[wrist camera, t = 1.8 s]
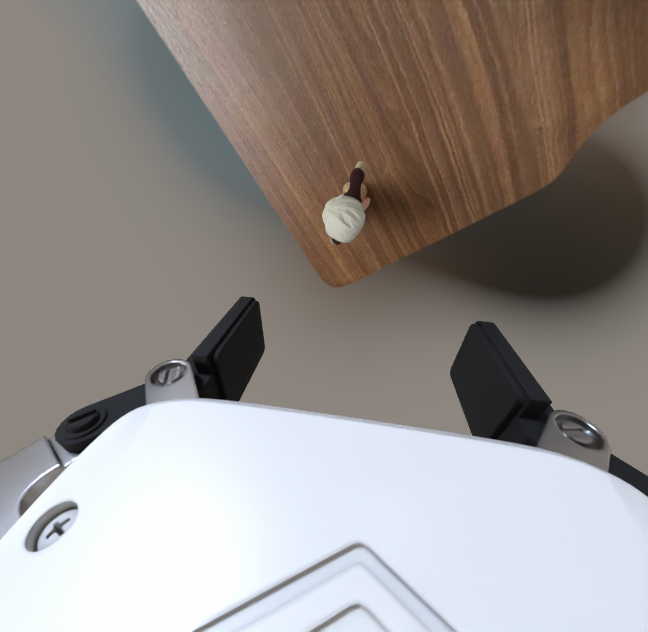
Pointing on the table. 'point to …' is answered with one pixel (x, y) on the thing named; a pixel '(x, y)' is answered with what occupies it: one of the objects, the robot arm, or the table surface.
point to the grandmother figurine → (347, 208)
